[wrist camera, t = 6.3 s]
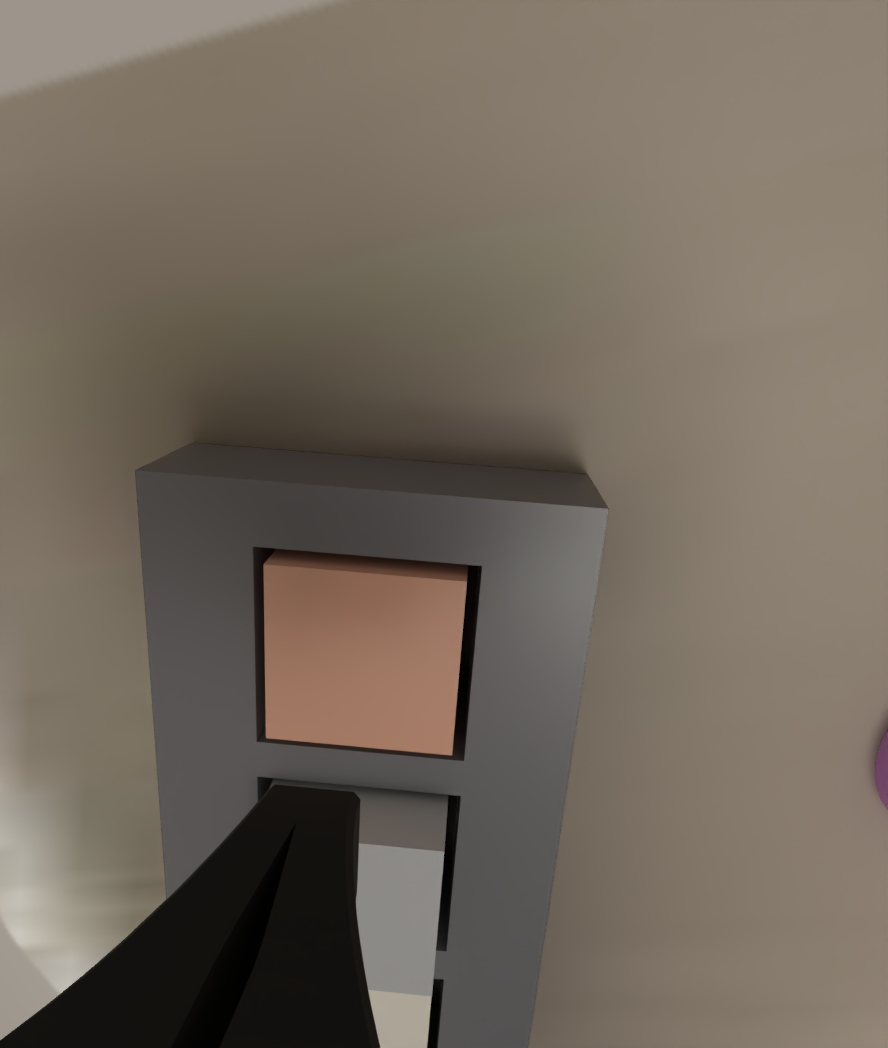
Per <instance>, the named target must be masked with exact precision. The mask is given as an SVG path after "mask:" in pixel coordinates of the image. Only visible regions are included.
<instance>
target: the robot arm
mask: <svg viewBox="0 0 888 1048" xmlns="http://www.w3.org/2000/svg"><path fill="white" fill-rule="evenodd" d="M359 827H360V798H359V797H358V796H357V795H356V794H355V793H354V792H351V791H340V790H330V789H319V788H309V787H298V786H287V785H277V784H275V785H274V786H272V787H271V788H270V789H268V790H267V792H266V793H265V794H264V795H263V796H262V797H261V799H260V800H259V801H258V802H257V803H256V805H255V806H254V807H253V808H252V809H251V810H250V811H249V813H248V814H247V815H246V816H245V817H244V818H243V820H242V821H241V822H240V823H239V824H238V825H237V826H236V827H235V829H234V830H233V831H232V832H231V833H230V834H229V835H228V836H227V837H226V838H225V840H224V841H223V842H222V843H221V844H220V845H219V846H218V847H217V848H216V849H215V850H214V851H213V853H212V854H211V855H210V856H209V857H208V858H207V859H206V860H205V861H204V862H203V863H202V864H201V865H200V866H199V867H198V868H197V869H196V870H195V871H194V872H193V873H192V874H191V875H190V876H189V877H188V878H187V880H186V881H185V882H184V883H183V884H182V885H181V886H180V887H179V888H178V889H177V890H176V891H175V892H174V893H173V894H172V895H171V896H170V897H169V898H168V899H167V900H165V901H164V902H163V903H162V904H161V905H160V906H159V907H158V908H157V909H156V910H155V911H154V912H153V913H152V914H151V915H150V916H149V917H147V918H146V919H145V920H144V921H143V922H142V923H141V924H140V925H139V926H138V927H137V928H136V929H135V930H134V931H133V932H132V933H131V934H129V935H128V936H127V937H126V938H125V939H124V940H123V941H122V942H121V943H120V944H119V945H117V946H116V947H115V948H114V949H113V950H112V951H111V952H110V953H108V954H107V955H106V956H105V957H104V958H103V959H102V960H100V961H99V962H98V963H97V964H96V965H95V966H93V967H92V968H91V969H90V970H89V971H88V972H86V973H85V974H84V975H83V976H82V977H80V978H79V979H78V980H77V981H76V982H74V983H73V984H72V985H71V986H69V987H68V988H67V989H66V990H65V991H63V992H62V993H61V994H60V995H58V996H57V997H56V998H55V999H54V1000H52V1001H51V1002H50V1003H49V1004H47V1005H46V1006H45V1007H44V1008H42V1009H41V1010H40V1011H38V1012H37V1013H36V1014H34V1015H33V1016H32V1017H31V1018H29V1019H28V1020H26V1021H25V1022H24V1023H23V1024H21V1025H20V1026H19V1027H17V1028H16V1029H15V1030H13V1031H12V1032H11V1033H10V1034H8V1035H7V1036H5V1037H4V1038H3V1039H2V1040H0V1048H380V1044H379V1039H378V1035H377V1030H376V1025H375V1021H374V1016H373V1012H372V1007H371V1002H370V997H369V992H368V986H367V981H366V975H365V969H364V963H363V956H362V950H361V943H360V936H359V928H358V920H357V910H356V896H357V882H358V854H359Z"/></svg>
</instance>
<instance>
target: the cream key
mask: <svg viewBox="0 0 888 1048" xmlns="http://www.w3.org/2000/svg"><path fill="white" fill-rule="evenodd" d="M368 992H369V997H370V1002H371V1007H372V1012H373V1016H374V1021H375V1025H376V1030H377V1035H378V1039H379V1044H380V1048H427V1043H428V1031H429V1019H430V1008H431V996H422V995H413V994H403V993H394V992H384V991H375V990H368Z"/></svg>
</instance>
